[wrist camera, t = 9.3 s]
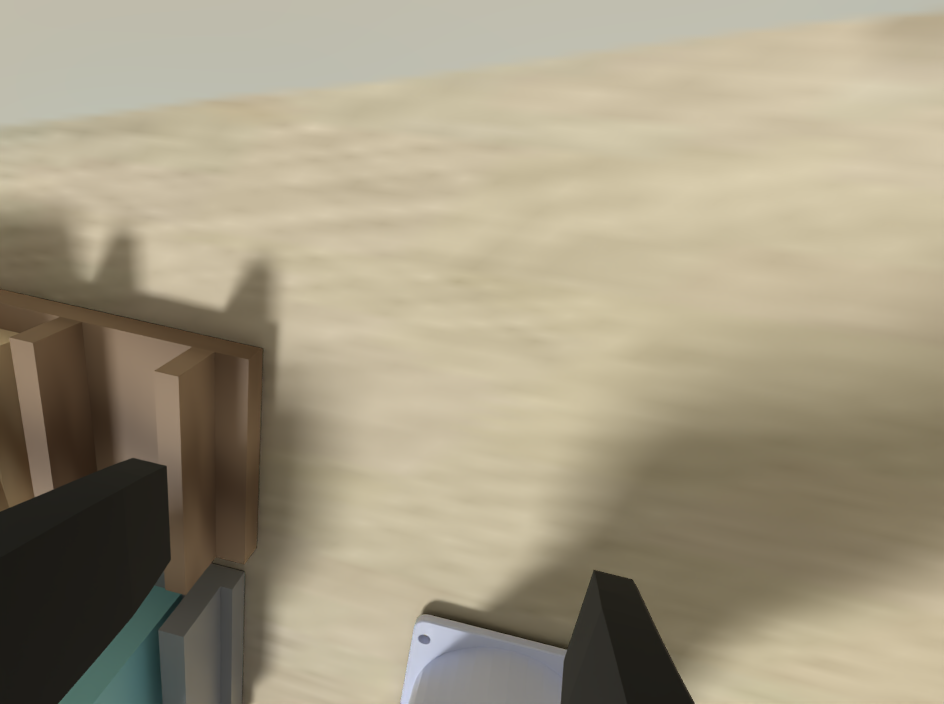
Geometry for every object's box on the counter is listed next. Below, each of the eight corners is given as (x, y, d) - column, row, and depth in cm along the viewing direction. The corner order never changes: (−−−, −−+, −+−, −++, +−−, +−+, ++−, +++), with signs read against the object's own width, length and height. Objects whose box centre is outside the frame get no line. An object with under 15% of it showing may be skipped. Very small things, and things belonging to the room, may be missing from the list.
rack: (256, 547, 24) (216, 603, 21) (-33, 474, 25) (-107, 519, 22) (262, 348, 21) (215, 385, 18) (-76, 272, 21) (-170, 296, 19)
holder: (241, 712, 28) (200, 789, 25) (106, 675, 29) (49, 746, 26) (245, 571, 25) (196, 640, 22) (90, 532, 25) (20, 593, 22)
